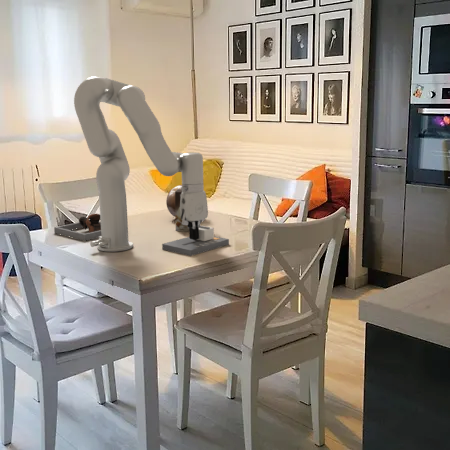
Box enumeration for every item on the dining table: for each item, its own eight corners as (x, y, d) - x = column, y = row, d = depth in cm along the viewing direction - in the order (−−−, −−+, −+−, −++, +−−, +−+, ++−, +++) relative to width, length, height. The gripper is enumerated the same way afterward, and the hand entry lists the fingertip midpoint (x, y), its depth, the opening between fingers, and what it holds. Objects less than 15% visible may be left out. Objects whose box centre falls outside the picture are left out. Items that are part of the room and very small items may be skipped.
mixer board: (190, 256, 202) (190, 250, 201) (162, 249, 211) (162, 243, 210) (228, 244, 217) (228, 238, 216) (200, 238, 226) (200, 233, 225)
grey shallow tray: (84, 241, 224) (84, 234, 223) (54, 233, 237) (54, 227, 236) (122, 232, 237) (121, 226, 237) (91, 225, 250) (91, 219, 250)
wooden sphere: (159, 219, 260) (158, 185, 257) (182, 214, 272) (181, 181, 269) (185, 223, 251) (184, 188, 248) (207, 217, 263) (207, 184, 260)
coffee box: (175, 231, 238) (173, 191, 235) (177, 227, 245) (176, 189, 241) (197, 231, 237) (196, 191, 234) (199, 227, 244) (199, 189, 240)
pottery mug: (110, 229, 245) (110, 214, 239) (101, 244, 238) (102, 229, 232) (82, 222, 245) (82, 207, 240) (73, 236, 238) (73, 221, 233)
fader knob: (204, 241, 212) (204, 228, 211) (192, 238, 216) (192, 226, 215) (213, 238, 216) (213, 226, 215) (201, 236, 220) (201, 224, 219)
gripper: (185, 192, 200) (186, 244, 204) (215, 186, 211) (216, 236, 215) (169, 189, 205) (171, 241, 209) (199, 184, 216) (201, 233, 220)
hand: (194, 238), depth 212 cm, fingers closed
